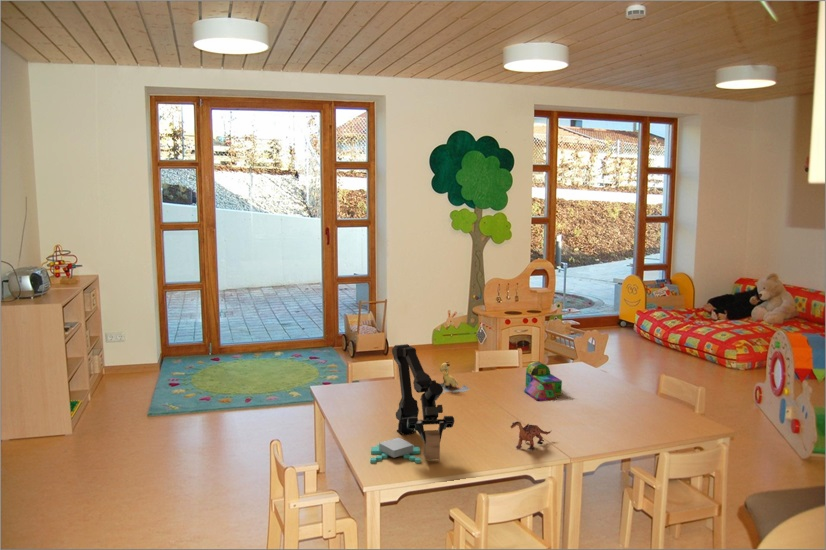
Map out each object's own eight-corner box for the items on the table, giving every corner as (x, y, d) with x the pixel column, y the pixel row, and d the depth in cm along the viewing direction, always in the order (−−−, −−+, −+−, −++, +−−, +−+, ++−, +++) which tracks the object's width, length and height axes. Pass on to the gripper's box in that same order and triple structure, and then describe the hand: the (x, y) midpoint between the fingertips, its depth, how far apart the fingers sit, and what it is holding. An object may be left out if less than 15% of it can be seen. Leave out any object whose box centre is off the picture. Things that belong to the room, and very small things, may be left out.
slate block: (398, 444, 278) (398, 437, 277) (413, 451, 270) (413, 444, 269) (379, 449, 271) (379, 442, 271) (393, 457, 264) (393, 450, 263)
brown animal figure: (502, 455, 270) (503, 420, 268) (535, 434, 294) (537, 402, 292) (520, 461, 265) (522, 425, 263) (553, 439, 289) (554, 406, 287)
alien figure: (420, 465, 262) (418, 445, 282) (420, 459, 262) (418, 440, 282) (370, 465, 261) (371, 445, 281) (370, 460, 261) (371, 440, 281)
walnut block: (423, 454, 266) (424, 430, 264) (437, 453, 266) (437, 430, 265) (425, 459, 260) (426, 435, 259) (439, 459, 261) (440, 435, 259)
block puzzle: (516, 387, 364) (517, 362, 362) (544, 385, 369) (545, 360, 367) (536, 401, 340) (537, 374, 338) (566, 399, 345) (567, 372, 343)
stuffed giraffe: (430, 385, 365) (432, 357, 363) (460, 383, 371) (462, 356, 368) (440, 395, 350) (441, 366, 348) (471, 393, 356) (473, 364, 353)
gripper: (408, 397, 263) (411, 434, 253) (454, 396, 265) (458, 433, 256) (405, 410, 272) (408, 446, 262) (450, 408, 274) (454, 444, 265)
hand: (432, 442), depth 261 cm, fingers closed on walnut block, 5 cm apart
